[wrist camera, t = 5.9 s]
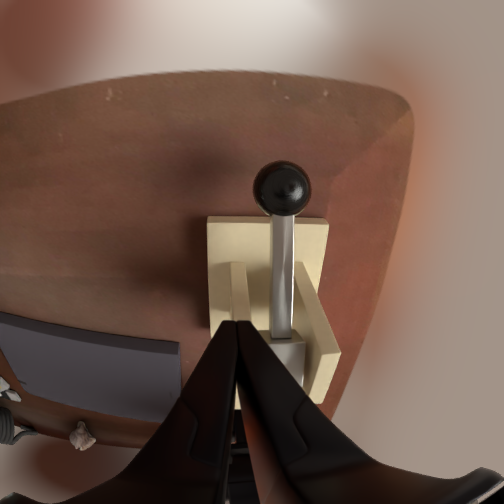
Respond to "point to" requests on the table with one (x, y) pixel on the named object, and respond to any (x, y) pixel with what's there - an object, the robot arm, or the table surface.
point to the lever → (283, 256)
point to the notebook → (93, 368)
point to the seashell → (81, 437)
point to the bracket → (258, 283)
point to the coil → (11, 428)
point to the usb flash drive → (8, 391)
